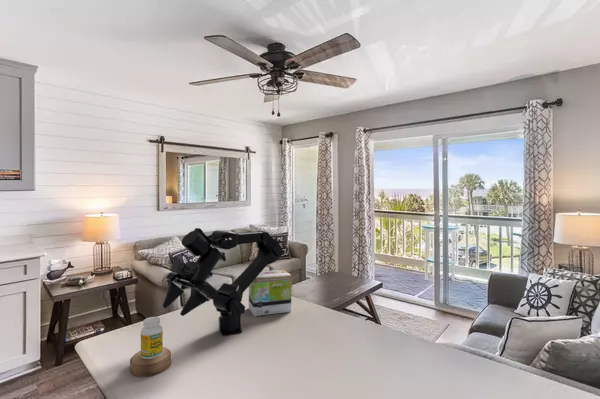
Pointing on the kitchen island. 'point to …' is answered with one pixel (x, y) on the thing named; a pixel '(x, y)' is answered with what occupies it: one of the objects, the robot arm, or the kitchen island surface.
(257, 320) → the kitchen island surface
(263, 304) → the tea box
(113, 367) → the kitchen island surface
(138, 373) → the pedestal
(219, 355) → the kitchen island surface
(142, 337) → the supplement bottle
